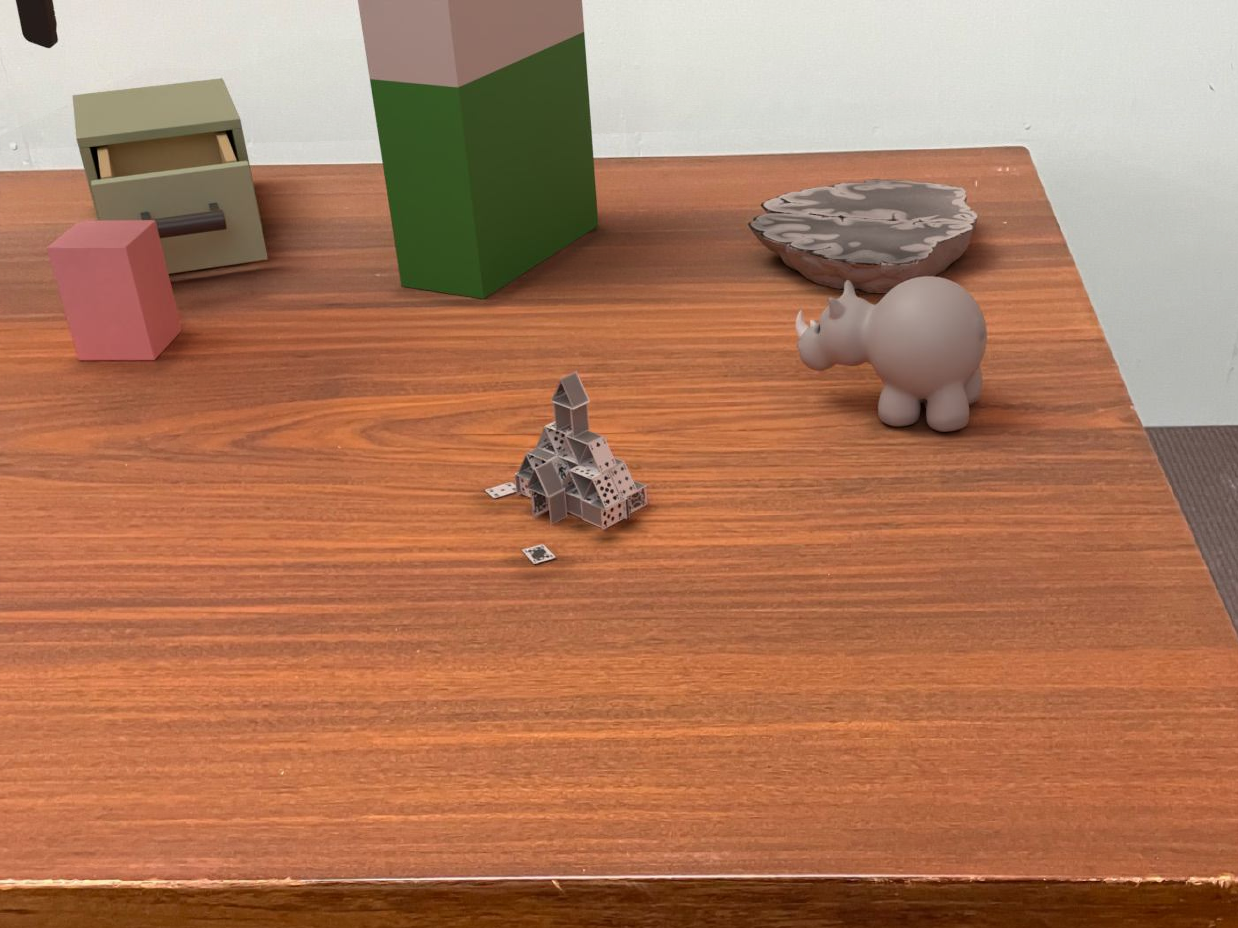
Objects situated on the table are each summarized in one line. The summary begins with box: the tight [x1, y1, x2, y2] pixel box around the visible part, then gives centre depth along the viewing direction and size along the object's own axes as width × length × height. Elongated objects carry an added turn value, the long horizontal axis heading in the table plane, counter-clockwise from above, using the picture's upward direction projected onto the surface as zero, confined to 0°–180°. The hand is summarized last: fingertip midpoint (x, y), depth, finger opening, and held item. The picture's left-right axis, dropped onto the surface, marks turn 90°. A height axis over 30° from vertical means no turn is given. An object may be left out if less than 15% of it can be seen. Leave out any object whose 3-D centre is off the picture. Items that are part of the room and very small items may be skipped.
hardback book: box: [357, 0, 599, 300], centre depth 114 cm, size 18×7×24 cm, turn 154°
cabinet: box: [72, 77, 264, 231], centre depth 129 cm, size 15×13×9 cm
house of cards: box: [484, 370, 649, 565], centre depth 84 cm, size 9×9×8 cm
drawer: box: [91, 131, 269, 274], centre depth 119 cm, size 18×11×7 cm, turn 20°
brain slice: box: [747, 178, 979, 294], centre depth 117 cm, size 20×17×3 cm
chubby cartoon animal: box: [794, 276, 988, 433], centre depth 93 cm, size 7×12×8 cm, turn 67°
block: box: [46, 220, 183, 361], centre depth 106 cm, size 6×6×8 cm
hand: (4, 73), depth 100 cm, fingers open, 8 cm apart
